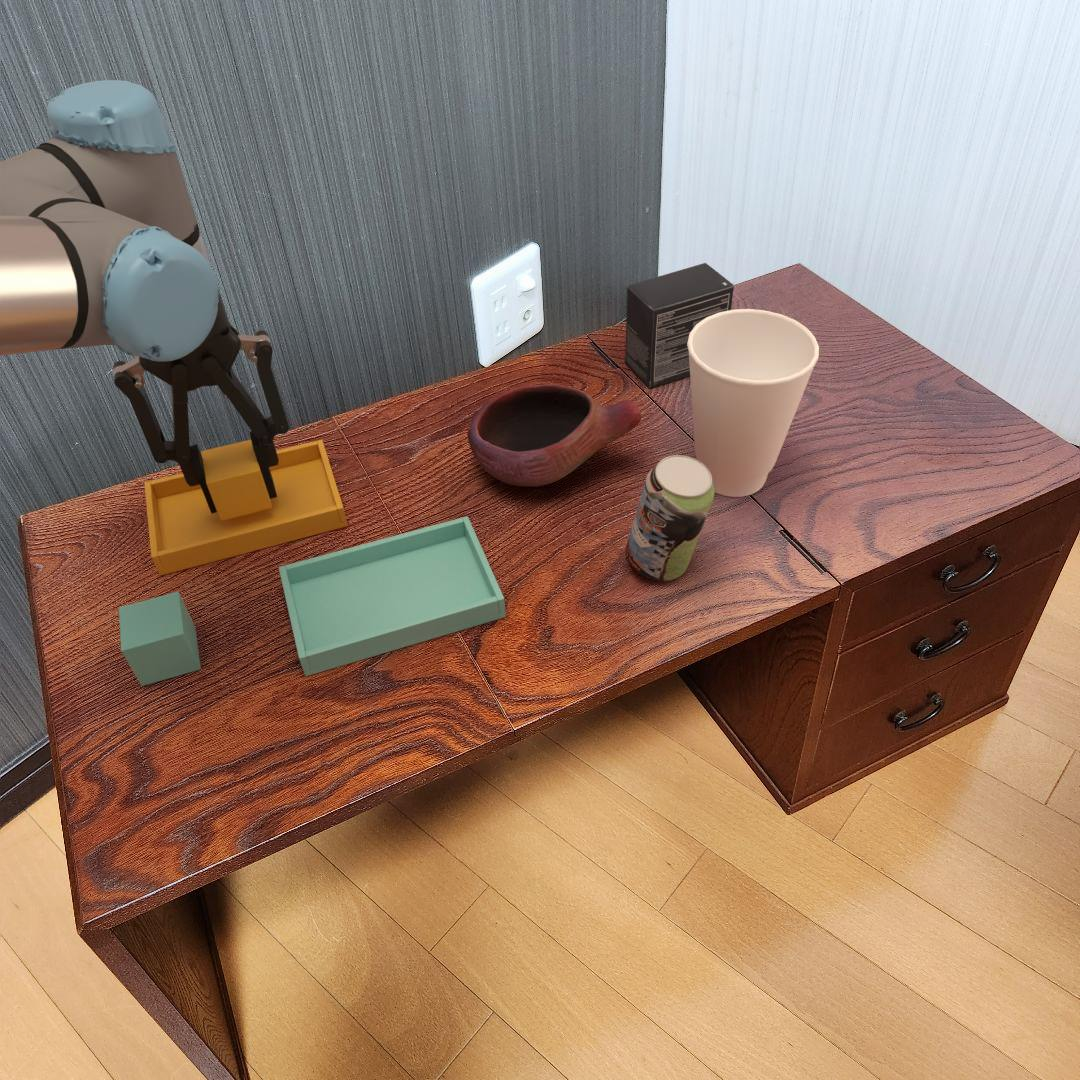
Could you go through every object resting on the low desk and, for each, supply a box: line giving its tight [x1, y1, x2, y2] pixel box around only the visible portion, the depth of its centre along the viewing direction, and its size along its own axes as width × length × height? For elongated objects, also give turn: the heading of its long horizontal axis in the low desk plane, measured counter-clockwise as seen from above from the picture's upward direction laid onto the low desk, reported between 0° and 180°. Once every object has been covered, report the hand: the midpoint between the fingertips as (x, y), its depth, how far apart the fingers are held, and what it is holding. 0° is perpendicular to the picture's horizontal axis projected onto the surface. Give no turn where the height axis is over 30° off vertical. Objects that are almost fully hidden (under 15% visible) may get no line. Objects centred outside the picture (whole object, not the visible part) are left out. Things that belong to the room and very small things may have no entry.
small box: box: [624, 262, 735, 389], centre depth 106 cm, size 11×6×10 cm, turn 115°
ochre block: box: [200, 439, 272, 521], centre depth 91 cm, size 5×5×5 cm
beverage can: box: [625, 454, 715, 582], centre depth 83 cm, size 6×7×12 cm
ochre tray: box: [143, 439, 349, 576], centre depth 93 cm, size 18×11×3 cm, turn 110°
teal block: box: [118, 591, 202, 687], centre depth 80 cm, size 5×5×5 cm
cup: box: [687, 308, 820, 498], centre depth 90 cm, size 12×12×16 cm
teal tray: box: [278, 516, 507, 677], centre depth 85 cm, size 18×11×3 cm, turn 110°
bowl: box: [466, 383, 642, 487], centre depth 96 cm, size 16×13×8 cm
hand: (242, 496), depth 93 cm, fingers closed on ochre block, 5 cm apart
